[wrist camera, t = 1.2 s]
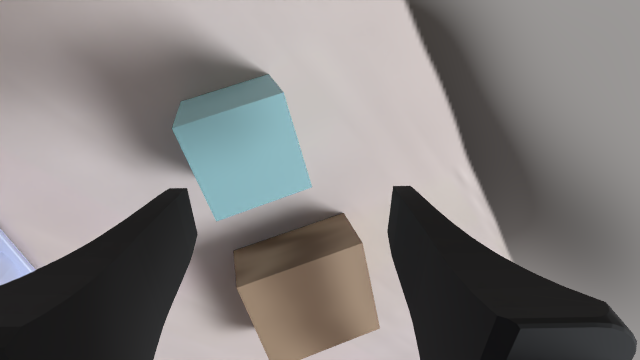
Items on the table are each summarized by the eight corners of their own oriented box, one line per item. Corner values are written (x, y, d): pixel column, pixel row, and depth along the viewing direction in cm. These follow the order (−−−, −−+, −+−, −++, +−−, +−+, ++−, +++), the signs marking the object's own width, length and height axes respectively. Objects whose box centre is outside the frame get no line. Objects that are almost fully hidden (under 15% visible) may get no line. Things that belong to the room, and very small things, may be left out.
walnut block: (266, 325, 28) (273, 369, 25) (233, 248, 25) (236, 288, 21) (360, 290, 30) (379, 328, 26) (342, 211, 26) (362, 242, 22)
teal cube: (215, 178, 22) (216, 221, 18) (180, 101, 20) (172, 128, 15) (293, 152, 23) (312, 187, 18) (268, 74, 20) (283, 92, 16)
